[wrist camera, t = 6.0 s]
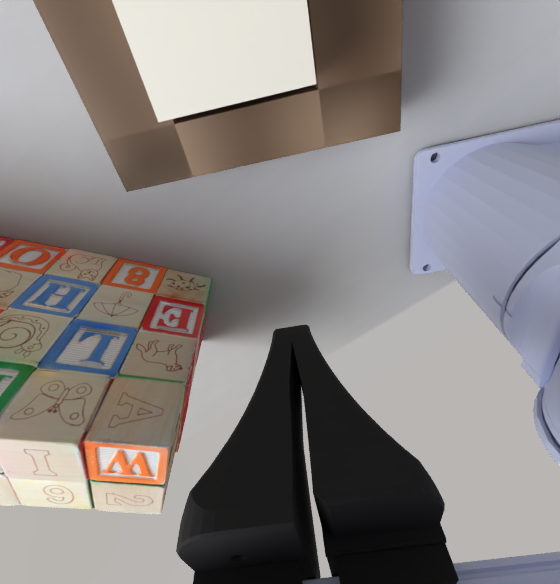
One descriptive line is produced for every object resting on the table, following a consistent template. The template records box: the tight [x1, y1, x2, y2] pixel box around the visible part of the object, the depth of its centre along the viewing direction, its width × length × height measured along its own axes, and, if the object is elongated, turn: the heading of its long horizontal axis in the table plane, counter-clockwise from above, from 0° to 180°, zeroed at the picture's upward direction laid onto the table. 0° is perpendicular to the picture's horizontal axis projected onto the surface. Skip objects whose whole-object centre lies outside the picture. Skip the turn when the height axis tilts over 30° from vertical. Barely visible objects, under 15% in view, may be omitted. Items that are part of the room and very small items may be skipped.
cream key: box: [112, 0, 316, 122], centre depth 10 cm, size 5×5×3 cm
